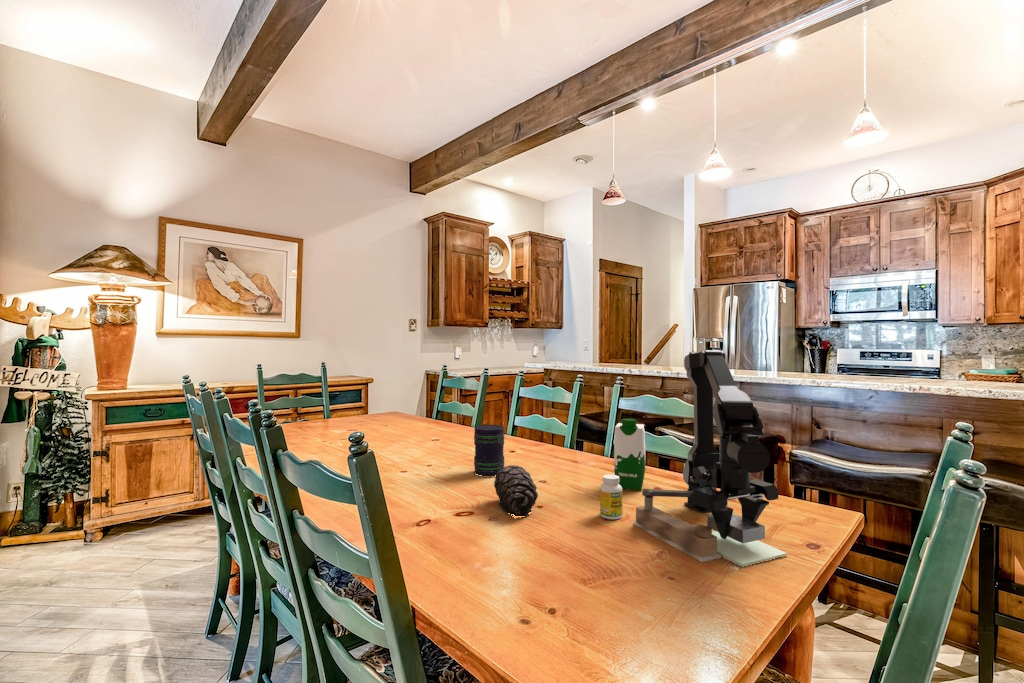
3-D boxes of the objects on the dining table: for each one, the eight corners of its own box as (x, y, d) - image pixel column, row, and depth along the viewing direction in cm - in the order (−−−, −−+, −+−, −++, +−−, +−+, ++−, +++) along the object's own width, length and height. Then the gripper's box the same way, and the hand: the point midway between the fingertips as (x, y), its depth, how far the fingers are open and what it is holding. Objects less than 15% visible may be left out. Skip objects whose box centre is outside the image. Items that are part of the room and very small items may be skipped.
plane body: (633, 524, 110) (633, 494, 110) (650, 521, 112) (649, 492, 112) (701, 562, 90) (701, 526, 90) (720, 558, 92) (720, 523, 92)
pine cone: (510, 522, 111) (510, 480, 111) (488, 499, 128) (488, 462, 128) (551, 517, 114) (551, 476, 114) (524, 495, 131) (524, 459, 131)
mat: (729, 530, 106) (729, 527, 106) (787, 556, 93) (787, 553, 93) (687, 539, 101) (687, 536, 101) (742, 567, 88) (742, 564, 88)
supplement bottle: (611, 510, 119) (611, 472, 119) (627, 517, 114) (627, 477, 114) (595, 514, 116) (595, 475, 116) (611, 521, 111) (611, 480, 111)
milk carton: (612, 489, 136) (612, 419, 136) (616, 481, 145) (616, 415, 145) (644, 492, 133) (644, 421, 134) (646, 483, 142) (646, 416, 142)
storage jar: (470, 476, 150) (470, 429, 150) (477, 468, 160) (477, 424, 160) (501, 478, 148) (501, 430, 148) (506, 469, 158) (506, 425, 158)
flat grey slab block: (728, 522, 102) (728, 511, 102) (764, 538, 94) (764, 525, 94) (707, 527, 100) (707, 515, 100) (742, 543, 92) (742, 530, 92)
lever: (643, 496, 107) (643, 490, 107) (641, 492, 110) (641, 486, 110) (718, 499, 105) (718, 492, 105) (714, 495, 108) (714, 488, 108)
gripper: (735, 448, 108) (736, 516, 108) (671, 455, 101) (671, 528, 101) (780, 458, 98) (780, 534, 98) (712, 468, 91) (712, 549, 91)
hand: (735, 535), depth 97 cm, fingers closed on flat grey slab block, 6 cm apart
